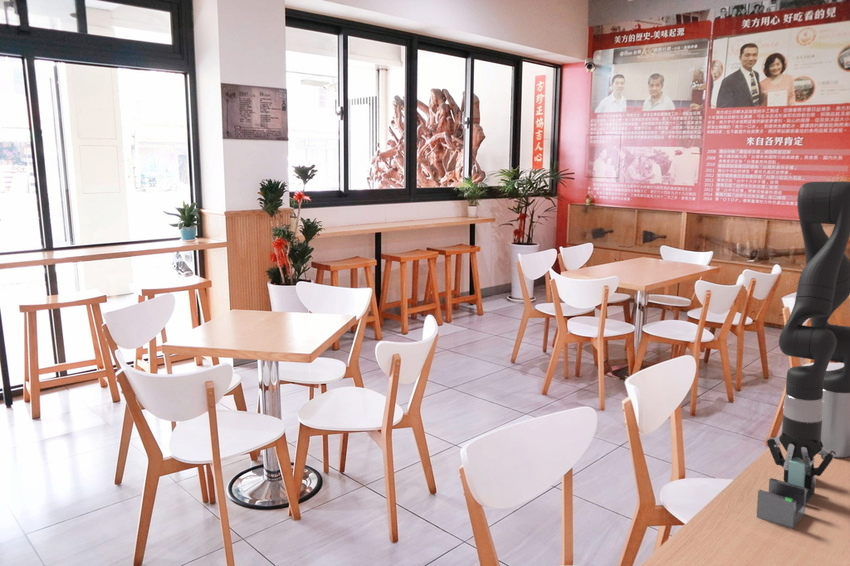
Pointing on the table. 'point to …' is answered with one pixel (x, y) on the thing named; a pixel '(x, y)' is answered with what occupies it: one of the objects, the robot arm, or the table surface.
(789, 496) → the port
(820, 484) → the table surface
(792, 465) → the plug
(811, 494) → the grey ridged tray
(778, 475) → the table surface
